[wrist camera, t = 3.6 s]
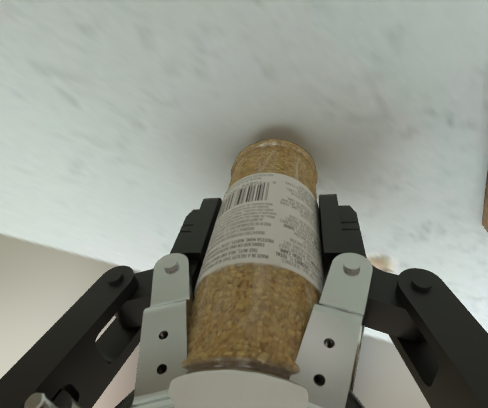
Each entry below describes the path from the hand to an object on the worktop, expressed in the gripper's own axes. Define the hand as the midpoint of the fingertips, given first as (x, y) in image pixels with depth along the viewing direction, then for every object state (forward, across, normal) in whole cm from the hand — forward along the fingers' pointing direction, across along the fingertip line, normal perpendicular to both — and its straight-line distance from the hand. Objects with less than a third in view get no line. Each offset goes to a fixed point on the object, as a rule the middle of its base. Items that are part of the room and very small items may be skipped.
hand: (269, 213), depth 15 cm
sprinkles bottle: (+4, 0, 0) cm, 4 cm away
